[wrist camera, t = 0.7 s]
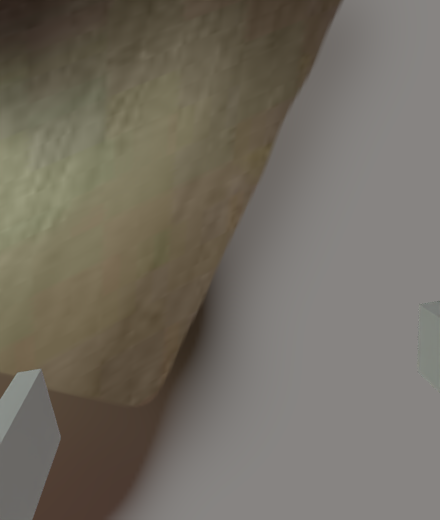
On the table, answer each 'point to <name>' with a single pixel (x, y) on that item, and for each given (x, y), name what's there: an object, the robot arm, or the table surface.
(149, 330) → the table surface
